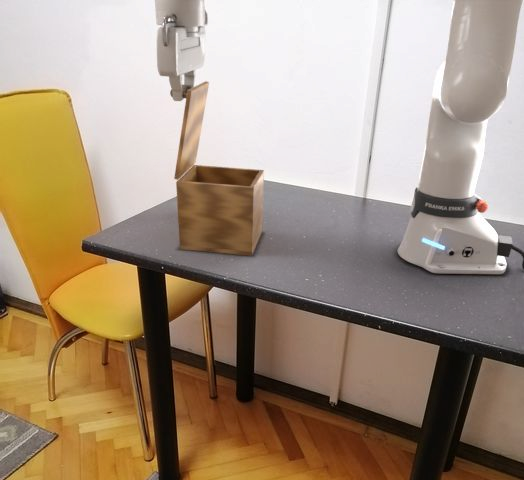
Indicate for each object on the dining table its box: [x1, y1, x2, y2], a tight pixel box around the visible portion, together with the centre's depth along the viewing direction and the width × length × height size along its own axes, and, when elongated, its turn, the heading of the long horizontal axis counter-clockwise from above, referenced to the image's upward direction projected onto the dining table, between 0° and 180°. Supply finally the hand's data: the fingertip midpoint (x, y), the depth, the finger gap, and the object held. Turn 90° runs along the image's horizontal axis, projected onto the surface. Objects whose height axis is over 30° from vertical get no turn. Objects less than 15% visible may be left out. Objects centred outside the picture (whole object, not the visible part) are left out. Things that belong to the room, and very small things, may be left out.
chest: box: [175, 164, 265, 257], centre depth 115 cm, size 16×14×14 cm
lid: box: [169, 80, 210, 181], centre depth 107 cm, size 17×14×5 cm
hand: (183, 97), depth 104 cm, fingers closed on lid, 6 cm apart
